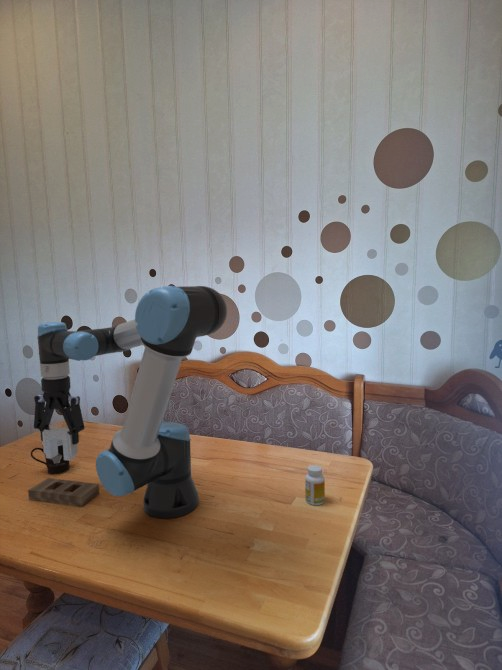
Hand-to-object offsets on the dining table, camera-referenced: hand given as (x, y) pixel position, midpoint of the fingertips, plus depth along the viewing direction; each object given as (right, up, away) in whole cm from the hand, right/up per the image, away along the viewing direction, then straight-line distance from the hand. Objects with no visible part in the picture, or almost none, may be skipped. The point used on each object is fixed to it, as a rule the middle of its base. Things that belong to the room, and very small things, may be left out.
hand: (60, 453), depth 123 cm
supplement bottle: (+74, -13, -4) cm, 75 cm away
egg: (-19, -8, +50) cm, 54 cm away
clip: (0, -1, 0) cm, 1 cm away
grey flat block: (0, -13, +1) cm, 13 cm away
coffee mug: (-11, -12, +20) cm, 26 cm away
